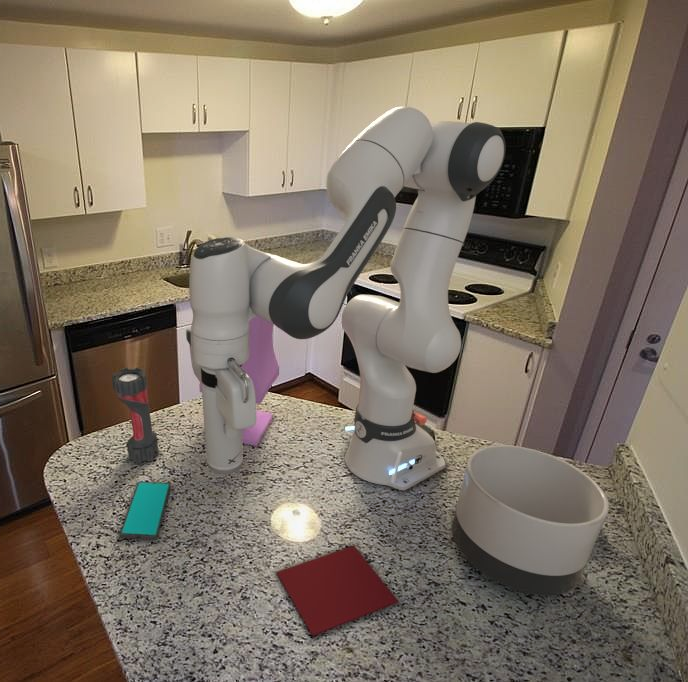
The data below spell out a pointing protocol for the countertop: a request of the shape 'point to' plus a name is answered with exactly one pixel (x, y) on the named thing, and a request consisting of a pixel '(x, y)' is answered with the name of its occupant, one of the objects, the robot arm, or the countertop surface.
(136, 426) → the flashlight
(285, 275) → the robot arm
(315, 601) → the napkin
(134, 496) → the smartphone
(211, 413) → the travel mug
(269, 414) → the vase
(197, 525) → the countertop surface
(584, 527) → the planter
